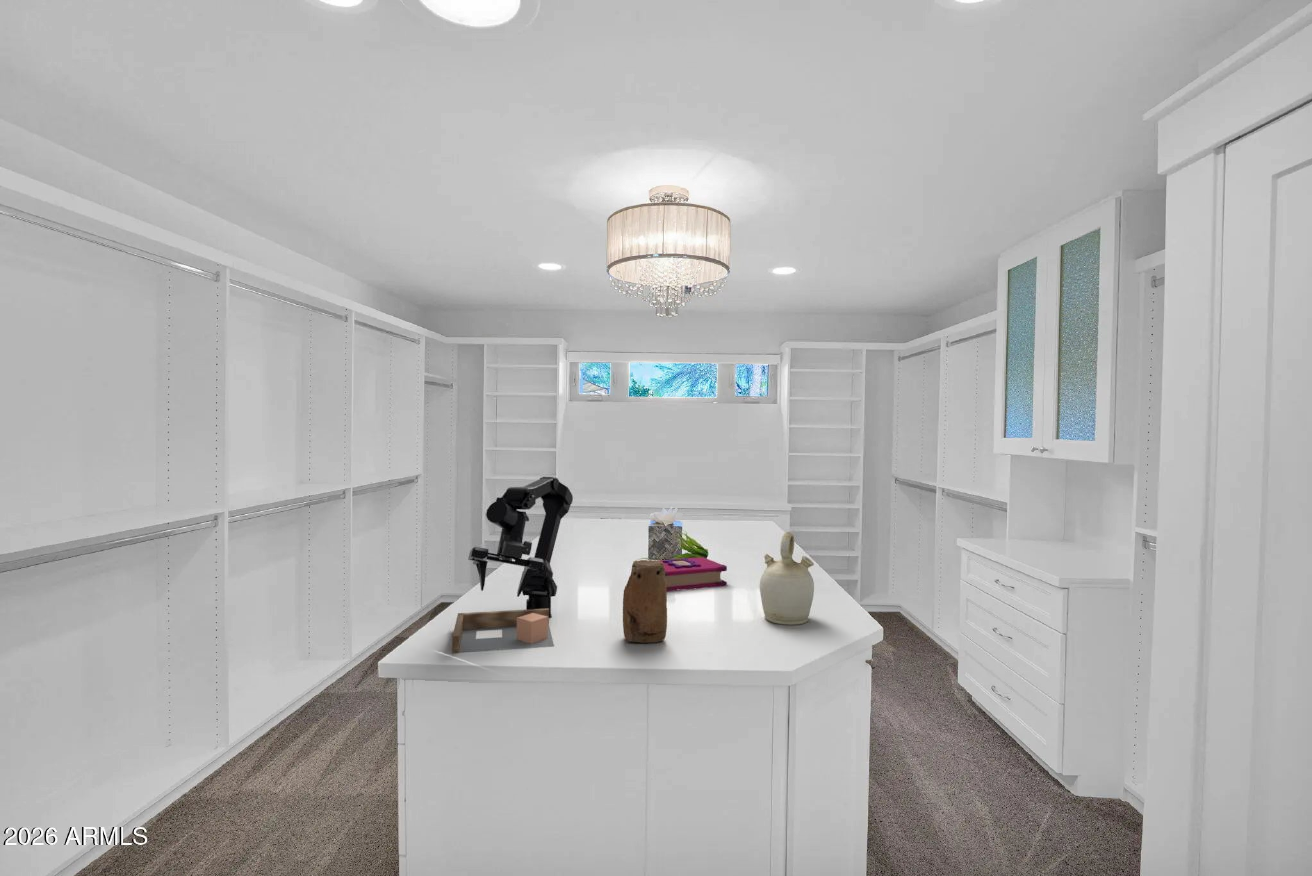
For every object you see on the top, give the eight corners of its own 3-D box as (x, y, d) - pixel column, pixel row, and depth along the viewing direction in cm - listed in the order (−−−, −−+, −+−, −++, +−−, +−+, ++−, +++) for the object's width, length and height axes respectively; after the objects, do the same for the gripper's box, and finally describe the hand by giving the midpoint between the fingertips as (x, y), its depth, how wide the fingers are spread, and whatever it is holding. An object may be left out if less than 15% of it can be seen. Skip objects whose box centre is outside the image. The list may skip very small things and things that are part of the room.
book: (632, 580, 233) (632, 559, 233) (700, 574, 244) (701, 554, 244) (654, 594, 213) (655, 571, 213) (728, 586, 224) (728, 565, 224)
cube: (532, 633, 167) (533, 612, 167) (547, 638, 164) (547, 616, 164) (516, 639, 163) (516, 617, 163) (531, 643, 160) (531, 621, 160)
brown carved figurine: (661, 634, 169) (662, 558, 169) (668, 643, 162) (669, 564, 162) (620, 636, 167) (621, 560, 166) (626, 646, 159) (627, 565, 159)
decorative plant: (638, 558, 274) (639, 523, 274) (708, 560, 270) (708, 525, 270) (632, 566, 256) (633, 529, 256) (707, 568, 252) (707, 531, 252)
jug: (823, 618, 185) (824, 532, 185) (795, 630, 173) (796, 538, 173) (778, 608, 195) (778, 526, 195) (748, 619, 184) (749, 532, 184)
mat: (548, 623, 177) (548, 622, 177) (554, 647, 158) (554, 645, 158) (457, 629, 172) (457, 627, 172) (452, 654, 152) (452, 652, 152)
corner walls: (548, 622, 177) (548, 608, 177) (554, 646, 158) (554, 630, 158) (457, 628, 172) (458, 613, 172) (452, 653, 152) (452, 636, 152)
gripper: (481, 520, 158) (467, 584, 153) (554, 535, 165) (543, 596, 159) (474, 528, 168) (461, 588, 162) (543, 542, 174) (533, 600, 168)
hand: (500, 593), depth 163 cm, fingers open, 9 cm apart
